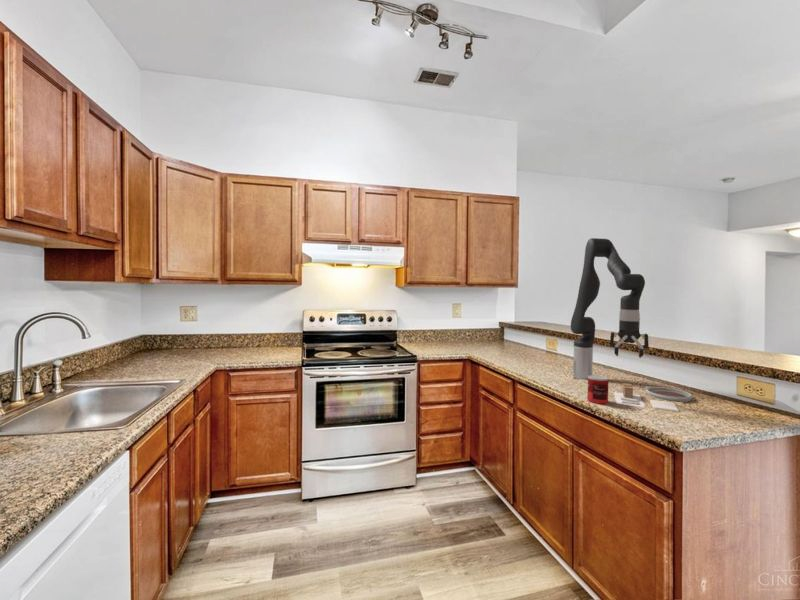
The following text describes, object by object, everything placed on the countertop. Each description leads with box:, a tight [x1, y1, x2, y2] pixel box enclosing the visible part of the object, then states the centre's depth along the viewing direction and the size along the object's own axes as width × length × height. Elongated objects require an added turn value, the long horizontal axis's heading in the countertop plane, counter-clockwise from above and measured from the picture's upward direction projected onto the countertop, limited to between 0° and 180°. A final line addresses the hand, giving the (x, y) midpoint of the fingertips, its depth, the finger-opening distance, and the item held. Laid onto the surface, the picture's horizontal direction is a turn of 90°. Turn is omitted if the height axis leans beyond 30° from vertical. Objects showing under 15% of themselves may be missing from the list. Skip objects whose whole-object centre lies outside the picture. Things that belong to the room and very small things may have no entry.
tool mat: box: [613, 391, 646, 408], centre depth 158 cm, size 10×19×1 cm, turn 153°
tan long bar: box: [621, 382, 639, 405], centre depth 158 cm, size 15×6×5 cm, turn 153°
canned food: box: [587, 374, 609, 405], centre depth 155 cm, size 8×8×11 cm
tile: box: [649, 399, 680, 413], centre depth 149 cm, size 8×2×11 cm
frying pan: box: [637, 382, 694, 403], centre depth 169 cm, size 17×3×28 cm
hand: (628, 356), depth 160 cm, fingers open, 8 cm apart
